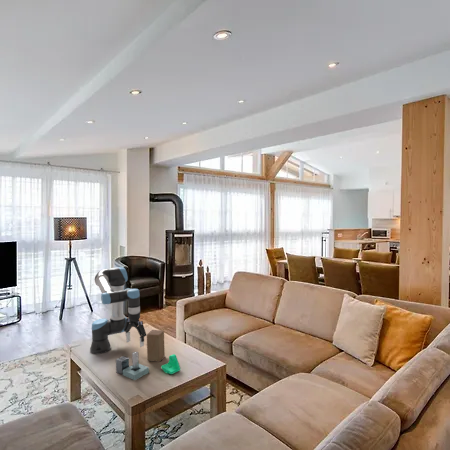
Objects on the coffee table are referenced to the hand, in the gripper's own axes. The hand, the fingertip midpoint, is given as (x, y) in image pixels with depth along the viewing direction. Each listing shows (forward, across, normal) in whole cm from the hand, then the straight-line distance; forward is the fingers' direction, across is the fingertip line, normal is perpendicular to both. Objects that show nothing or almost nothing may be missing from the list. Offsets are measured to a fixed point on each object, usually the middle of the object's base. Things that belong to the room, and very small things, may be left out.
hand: (135, 344), depth 216 cm
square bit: (+20, -10, -3) cm, 23 cm away
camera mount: (+21, +16, +16) cm, 31 cm away
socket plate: (+20, 0, 0) cm, 20 cm away
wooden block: (+21, -5, +23) cm, 31 cm away
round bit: (+20, 0, 0) cm, 20 cm away
